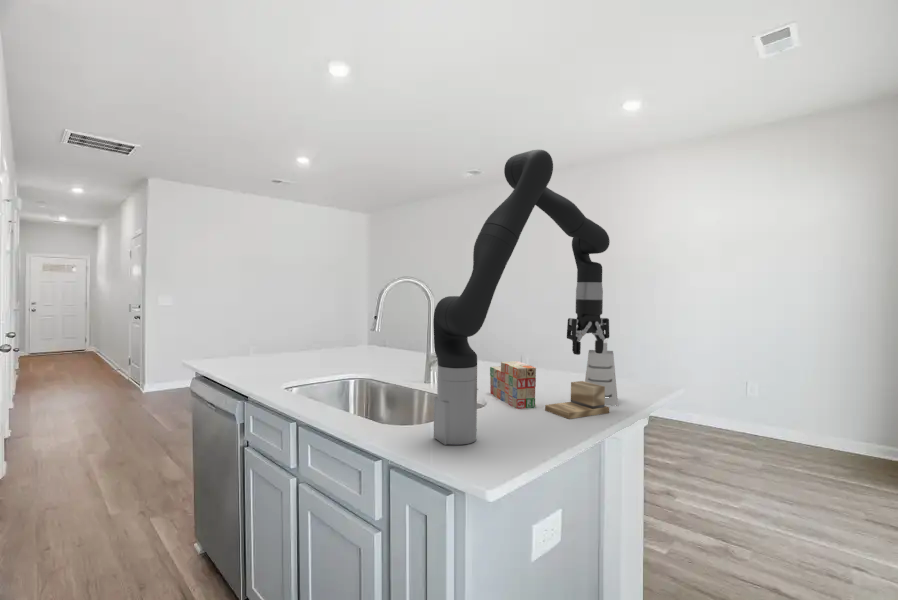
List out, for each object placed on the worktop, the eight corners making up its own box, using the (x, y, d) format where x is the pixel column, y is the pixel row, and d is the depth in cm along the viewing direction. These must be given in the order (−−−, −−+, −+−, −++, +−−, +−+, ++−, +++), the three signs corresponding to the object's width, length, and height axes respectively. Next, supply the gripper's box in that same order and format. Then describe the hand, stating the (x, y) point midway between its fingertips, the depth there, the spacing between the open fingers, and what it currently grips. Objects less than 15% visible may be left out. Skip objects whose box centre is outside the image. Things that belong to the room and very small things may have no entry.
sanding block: (592, 409, 130) (592, 387, 130) (570, 402, 138) (571, 382, 138) (604, 407, 132) (604, 386, 132) (582, 400, 140) (582, 381, 140)
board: (568, 419, 126) (568, 413, 126) (545, 410, 135) (545, 404, 134) (609, 412, 132) (609, 407, 132) (584, 405, 141) (584, 399, 141)
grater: (582, 403, 144) (583, 339, 143) (583, 396, 154) (584, 336, 153) (618, 406, 140) (619, 340, 140) (617, 398, 150) (618, 337, 150)
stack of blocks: (489, 393, 157) (490, 357, 156) (506, 392, 158) (507, 357, 158) (516, 409, 136) (517, 367, 136) (535, 408, 138) (536, 366, 138)
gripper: (579, 298, 128) (578, 356, 128) (616, 298, 135) (615, 354, 135) (561, 297, 135) (560, 353, 135) (597, 298, 141) (596, 351, 142)
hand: (588, 353), depth 135 cm, fingers open, 8 cm apart
